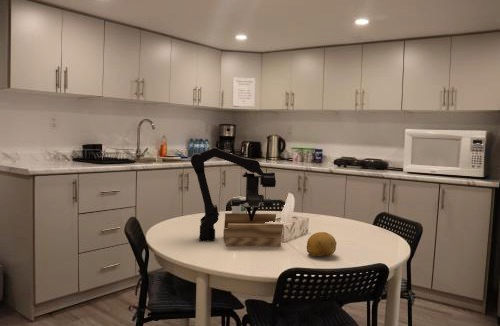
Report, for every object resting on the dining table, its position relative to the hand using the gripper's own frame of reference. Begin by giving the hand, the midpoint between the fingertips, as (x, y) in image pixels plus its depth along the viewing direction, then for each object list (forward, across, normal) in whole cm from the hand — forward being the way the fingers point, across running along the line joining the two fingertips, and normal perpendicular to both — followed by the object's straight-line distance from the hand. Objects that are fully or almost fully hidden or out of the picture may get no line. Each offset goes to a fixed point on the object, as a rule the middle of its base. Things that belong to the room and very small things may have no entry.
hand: (251, 221), depth 197 cm
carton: (+9, 0, -3) cm, 9 cm away
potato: (+9, +26, -25) cm, 37 cm away
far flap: (+1, 0, +3) cm, 3 cm away
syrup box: (+8, -2, +30) cm, 31 cm away
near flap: (+1, 0, -12) cm, 13 cm away
